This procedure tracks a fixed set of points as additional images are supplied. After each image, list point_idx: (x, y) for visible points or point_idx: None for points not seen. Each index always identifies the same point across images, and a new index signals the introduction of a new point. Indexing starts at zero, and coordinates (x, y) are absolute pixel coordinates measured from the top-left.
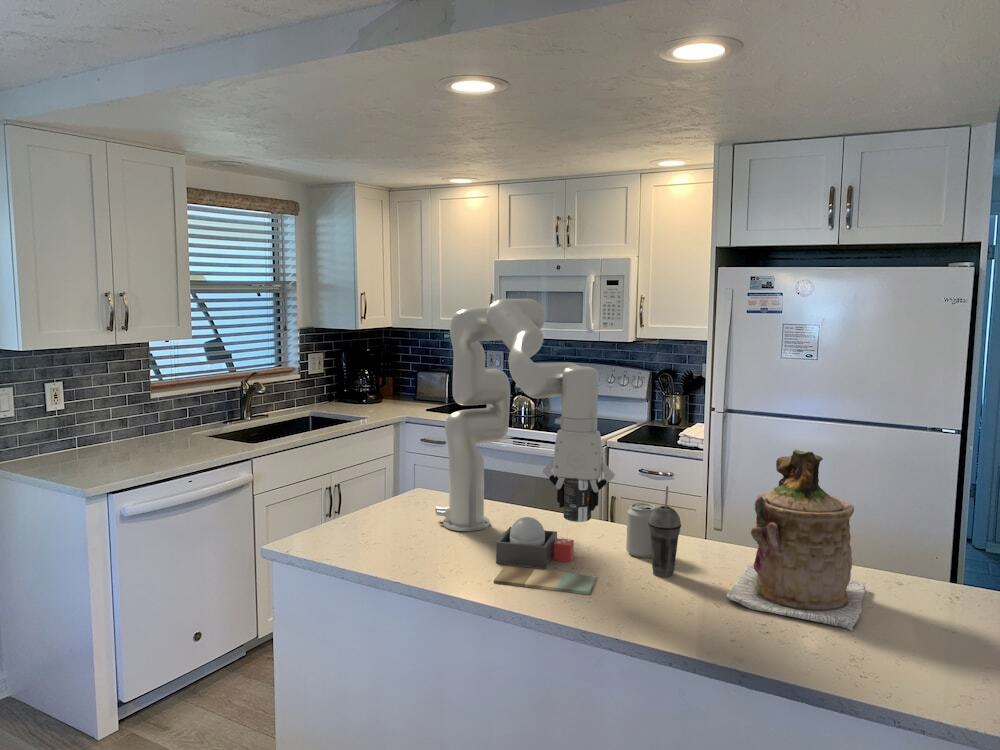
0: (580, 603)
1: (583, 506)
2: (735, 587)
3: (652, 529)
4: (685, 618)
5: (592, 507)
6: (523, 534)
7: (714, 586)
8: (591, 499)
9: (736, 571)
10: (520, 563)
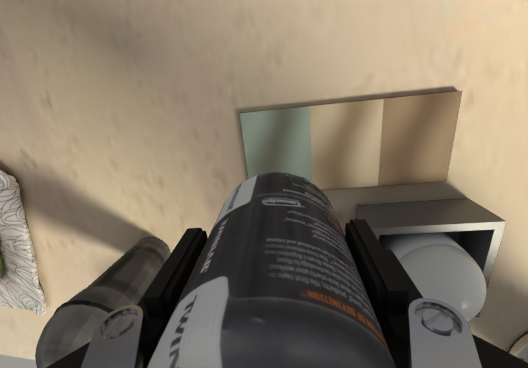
0: (243, 59)
1: (224, 216)
2: (17, 219)
3: (115, 304)
4: (43, 75)
5: (187, 235)
6: (444, 255)
7: (65, 230)
8: (177, 263)
9: (64, 293)
10: (414, 204)
